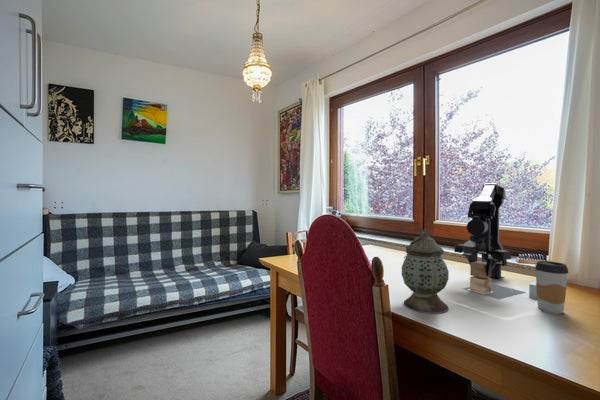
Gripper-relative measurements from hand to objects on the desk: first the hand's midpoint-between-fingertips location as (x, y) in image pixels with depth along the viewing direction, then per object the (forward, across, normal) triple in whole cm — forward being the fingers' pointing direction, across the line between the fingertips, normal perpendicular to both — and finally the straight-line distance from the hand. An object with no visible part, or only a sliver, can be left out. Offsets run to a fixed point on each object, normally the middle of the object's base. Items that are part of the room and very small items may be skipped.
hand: (480, 274), depth 118 cm
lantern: (+7, +1, -32) cm, 33 cm away
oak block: (+6, 0, 0) cm, 6 cm away
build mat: (+7, +2, +5) cm, 8 cm away
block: (+7, +14, +12) cm, 20 cm away
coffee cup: (+7, +22, +1) cm, 23 cm away
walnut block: (+1, 0, 0) cm, 1 cm away
